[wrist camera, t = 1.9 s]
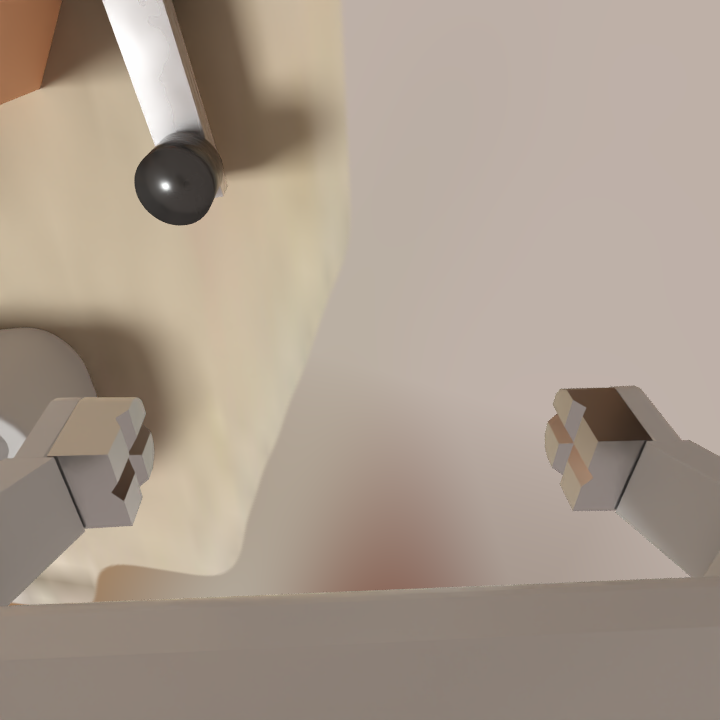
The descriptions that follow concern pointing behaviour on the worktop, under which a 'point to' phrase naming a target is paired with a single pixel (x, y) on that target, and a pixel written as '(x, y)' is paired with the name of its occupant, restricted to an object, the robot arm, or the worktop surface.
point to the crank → (168, 113)
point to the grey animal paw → (34, 381)
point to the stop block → (25, 44)
